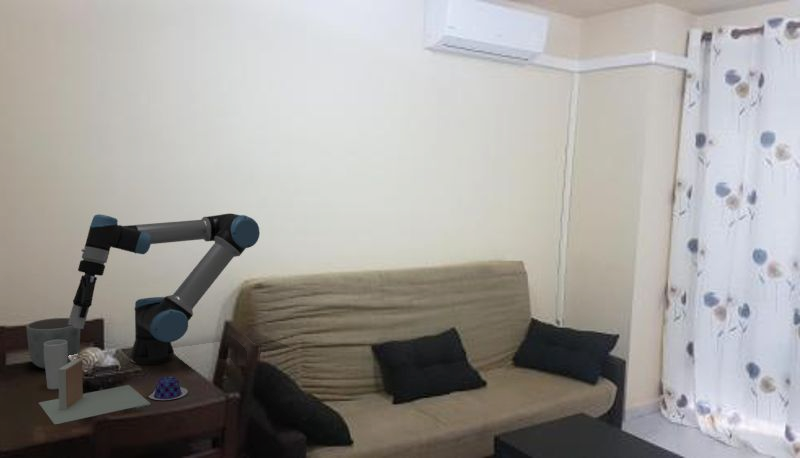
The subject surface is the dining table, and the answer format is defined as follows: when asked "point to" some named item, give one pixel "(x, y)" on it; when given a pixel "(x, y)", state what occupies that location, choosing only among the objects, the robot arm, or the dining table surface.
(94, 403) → the rubber mat
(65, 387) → the ceramic tile
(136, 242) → the robot arm
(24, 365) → the dining table surface
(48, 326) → the planter
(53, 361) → the drinking glass
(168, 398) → the pudding
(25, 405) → the dining table surface
